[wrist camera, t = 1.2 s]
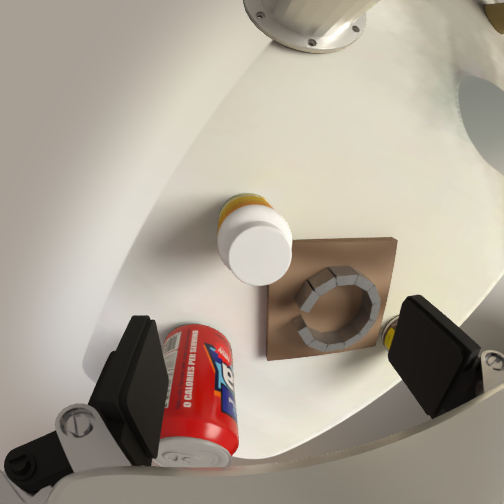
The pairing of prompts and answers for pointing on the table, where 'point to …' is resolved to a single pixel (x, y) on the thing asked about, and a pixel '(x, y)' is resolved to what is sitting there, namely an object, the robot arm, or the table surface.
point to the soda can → (198, 400)
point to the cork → (496, 15)
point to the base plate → (332, 302)
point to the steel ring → (350, 331)
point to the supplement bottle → (254, 240)
